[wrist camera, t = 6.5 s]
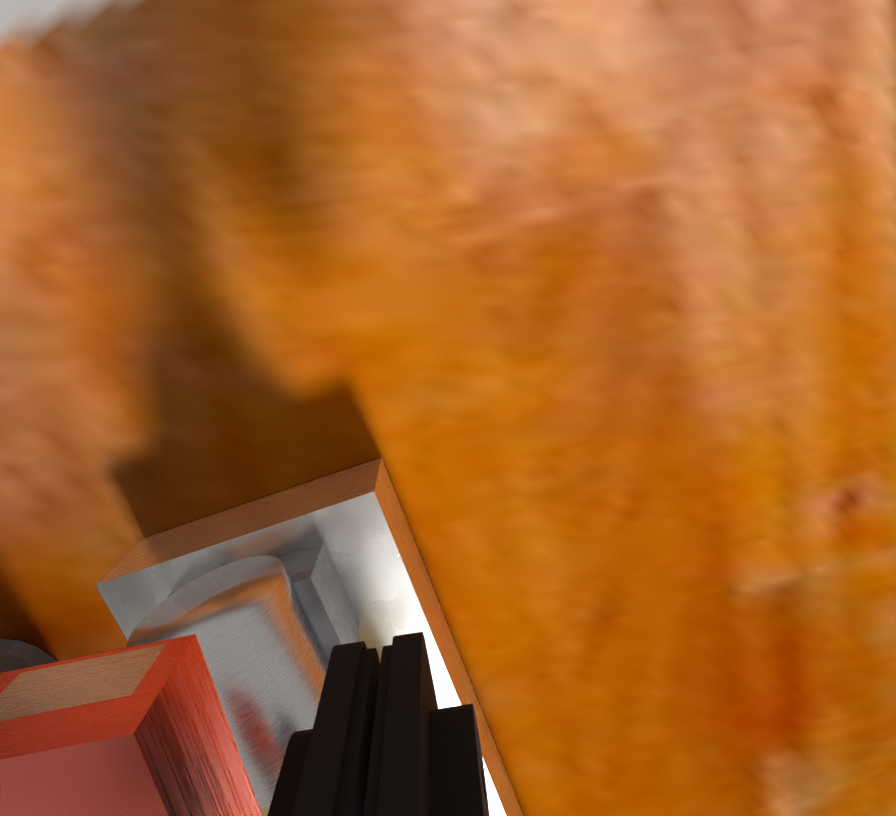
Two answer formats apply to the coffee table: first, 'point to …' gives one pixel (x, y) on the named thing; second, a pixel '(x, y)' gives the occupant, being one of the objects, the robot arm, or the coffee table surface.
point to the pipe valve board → (362, 564)
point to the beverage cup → (21, 655)
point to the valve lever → (120, 737)
